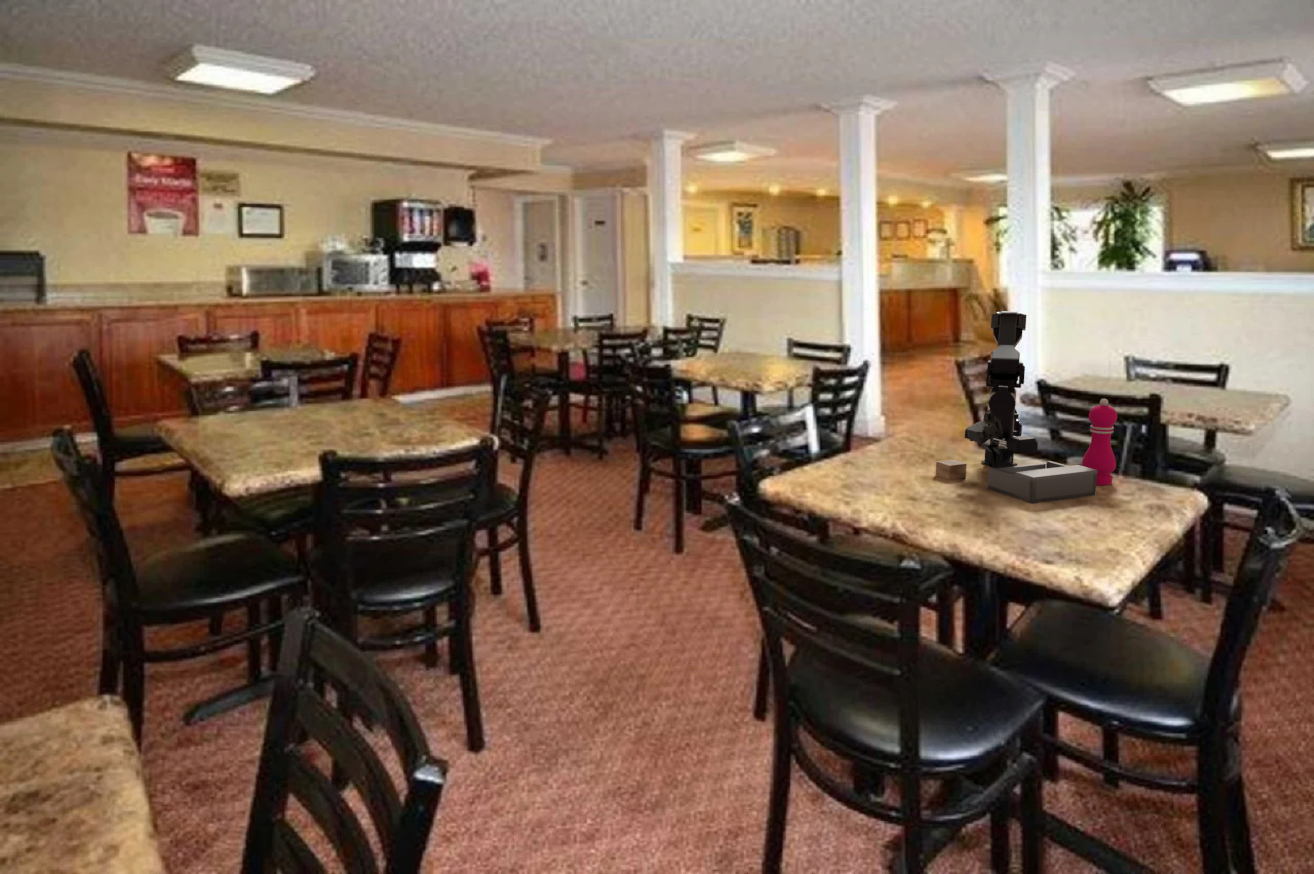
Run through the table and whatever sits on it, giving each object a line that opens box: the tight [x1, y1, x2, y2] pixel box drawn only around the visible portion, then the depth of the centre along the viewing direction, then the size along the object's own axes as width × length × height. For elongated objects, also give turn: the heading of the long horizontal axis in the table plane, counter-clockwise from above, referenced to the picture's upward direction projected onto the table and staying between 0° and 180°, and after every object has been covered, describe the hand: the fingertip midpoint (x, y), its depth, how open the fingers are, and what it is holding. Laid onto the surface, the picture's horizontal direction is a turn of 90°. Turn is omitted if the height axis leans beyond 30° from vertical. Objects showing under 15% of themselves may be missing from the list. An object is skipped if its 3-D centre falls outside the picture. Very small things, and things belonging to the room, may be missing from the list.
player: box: [986, 460, 1097, 504], centre depth 208 cm, size 18×14×6 cm
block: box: [935, 459, 967, 481], centre depth 224 cm, size 5×5×4 cm
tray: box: [996, 462, 1046, 474], centre depth 210 cm, size 16×14×3 cm
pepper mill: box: [1081, 398, 1118, 486], centre depth 215 cm, size 7×7×20 cm
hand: (997, 473), depth 220 cm, fingers closed
